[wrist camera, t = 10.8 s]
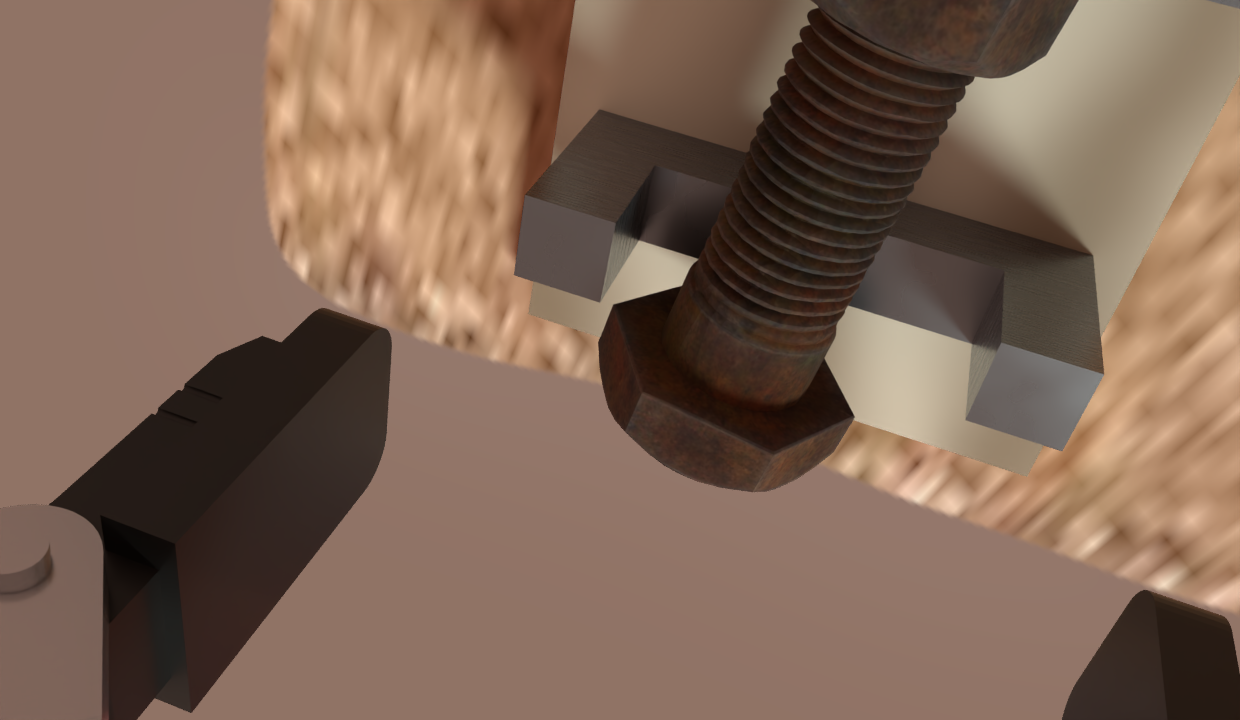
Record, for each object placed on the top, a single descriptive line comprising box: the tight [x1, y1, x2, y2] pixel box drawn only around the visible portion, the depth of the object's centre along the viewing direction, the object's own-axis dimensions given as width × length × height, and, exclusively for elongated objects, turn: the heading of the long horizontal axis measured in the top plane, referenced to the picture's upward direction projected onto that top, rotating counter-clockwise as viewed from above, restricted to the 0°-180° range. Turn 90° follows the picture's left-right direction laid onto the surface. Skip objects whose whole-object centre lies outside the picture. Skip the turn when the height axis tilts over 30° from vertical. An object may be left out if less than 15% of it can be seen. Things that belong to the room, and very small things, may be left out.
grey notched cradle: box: [514, 0, 1240, 451], centre depth 22 cm, size 12×11×5 cm
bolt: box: [598, 0, 1079, 492], centre depth 21 cm, size 6×5×15 cm
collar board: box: [528, 0, 1240, 477], centre depth 25 cm, size 14×20×2 cm
